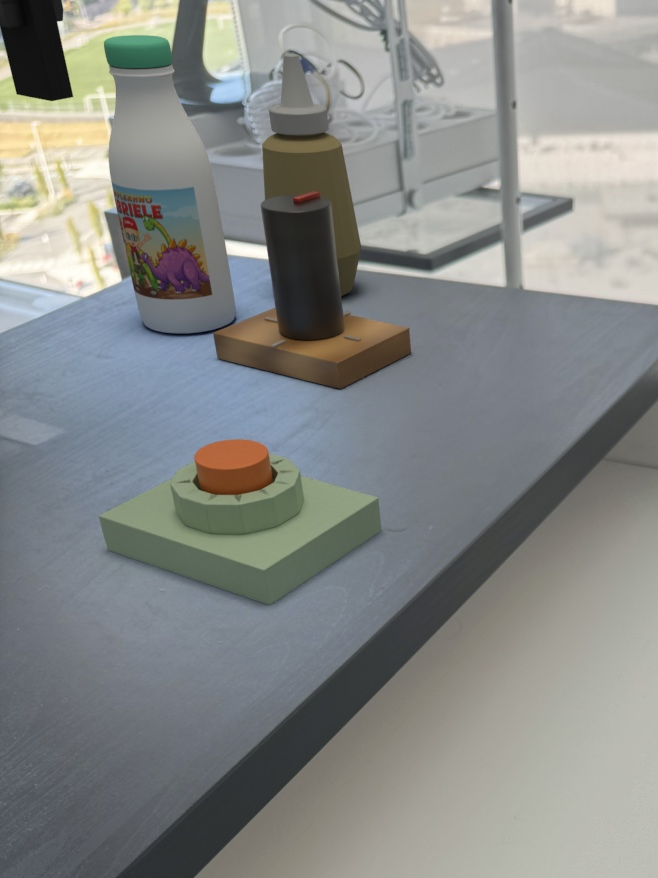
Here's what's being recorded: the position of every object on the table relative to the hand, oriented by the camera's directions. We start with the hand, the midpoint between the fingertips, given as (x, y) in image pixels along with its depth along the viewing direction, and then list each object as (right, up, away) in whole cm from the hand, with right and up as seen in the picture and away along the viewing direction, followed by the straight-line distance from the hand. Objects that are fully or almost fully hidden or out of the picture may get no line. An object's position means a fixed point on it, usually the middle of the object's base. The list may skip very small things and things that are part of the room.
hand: (44, 95), depth 64 cm
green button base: (+10, -24, +4) cm, 26 cm away
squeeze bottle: (+6, +6, +40) cm, 41 cm away
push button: (+10, -21, +2) cm, 23 cm away
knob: (+8, -2, +26) cm, 28 cm away
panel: (+8, -4, +28) cm, 29 cm away
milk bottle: (-3, +1, +33) cm, 34 cm away
